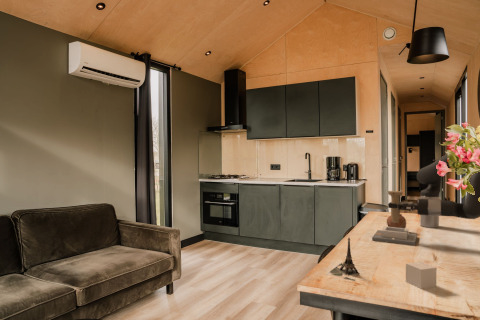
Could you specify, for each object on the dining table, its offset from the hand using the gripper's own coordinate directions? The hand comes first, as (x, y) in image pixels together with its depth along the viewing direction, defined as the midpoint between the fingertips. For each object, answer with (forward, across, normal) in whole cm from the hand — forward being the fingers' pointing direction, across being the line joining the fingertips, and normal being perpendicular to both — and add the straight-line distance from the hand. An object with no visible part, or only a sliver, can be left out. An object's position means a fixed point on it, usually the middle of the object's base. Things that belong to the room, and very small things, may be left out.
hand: (389, 205), depth 164 cm
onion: (-2, -18, +16) cm, 24 cm away
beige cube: (-15, +59, +17) cm, 63 cm away
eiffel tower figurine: (+7, +58, +17) cm, 61 cm away
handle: (-3, 0, +8) cm, 9 cm away
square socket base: (-3, 0, +16) cm, 16 cm away
